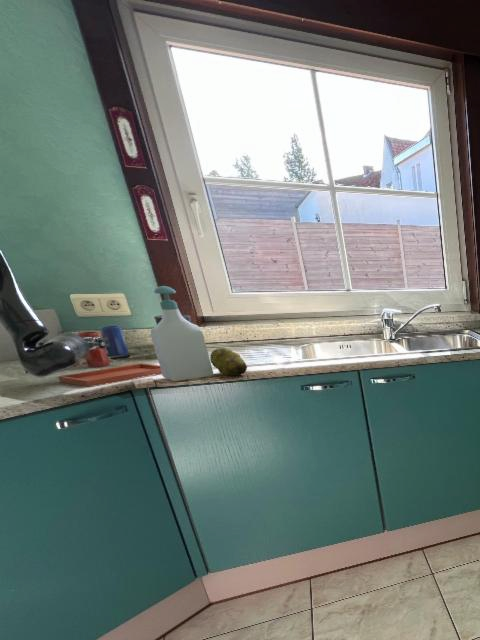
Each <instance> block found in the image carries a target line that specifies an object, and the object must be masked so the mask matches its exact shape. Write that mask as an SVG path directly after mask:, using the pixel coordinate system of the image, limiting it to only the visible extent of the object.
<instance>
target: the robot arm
mask: <svg viewBox="0 0 480 640" xmlns="http://www.w3.org/2000/svg"><path fill="white" fill-rule="evenodd" d="M0 325H1V326H2V327H3V328H4V329H5V331H6V333H8V335H9V337H10V339H11V341H12V344H13V347H14V349H15V353H16V356H17V360H18V362H19V364H20V366H21V367H22V368H23V369H24V371H25V372H27V373H28V374H30V375H32V376H34V377H38V378H44V377H48V376H51V375H53V374H56V373H59V372H62V371H64V370H67V369H70V368H73V367H75V366H77V365H78V364H79V363H80V360H82V359H84V358H85V356H86V355H87V354H88V352H89V349H95V348H96V347H97V346H99V348H102V349H104V348H105V349H107V348H106V347H108V346H110V344H109V341H108V338H107V337H101V338H100V336H98V337H95V338H92V337H85V338H81V337H79V336H77V334H74V333H61V334H58V335H56V336H54V337H52V338H49V340H48V339H45V338H46V337H47V336H49V333H50V331H49V328H48V326H47V325H46V324H45V322H44V321H43V320H42V318H41V317H40V316H39V314H38V313H37V312H36V311H35V309H34V308H33V307H32V304H30V302H29V300H28V299H27V297H26V295H25V294H24V292H23V291H22V288H21V286H20V284H19V282H18V281H17V279H16V276H15V274H14V272H13V270H12V269H11V267H10V265H9V262H8V261H7V259H6V257H5V255H4V254H3V251H2V249H0ZM87 340H88V341H87ZM94 340H95V341H96V342H95V343H94ZM37 344H38V346H37Z"/></svg>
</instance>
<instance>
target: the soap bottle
mask: <svg viewBox="0 0 480 640" xmlns="http://www.w3.org/2000/svg"><path fill="white" fill-rule="evenodd" d="M176 293H177V291H176V290H175V289H174V288H172V287H170V286H167V285H162V286H161V285H159V286H158V287H156V288H155V289H154V294H158V295H159V294H161V295H163V298H164V299H163V300H160V301H161V302H159V304H160V308H161V315H162V320H161V321H160V322H159V323H158V325H157V324H156V325H155V326H154V327H152V328H151V329H150V337H151V338H150V339H151V341H152V345H153V348H154V351H155V354H156V358H157V361H158V364H159V366H160V368H161V371H162V374H161V375H162V377H163V378H164V379H167V380H170V381H173V382H178V381H184V380H192V379H197V378H205V377H213V376H214V370H213V365H212V363H211V360H210V355H209V351H208V348H207V344H206V340H205V336H204V333H203V332H202V329H201V328H200V326H199V325H197V324H195V323H192V322H191V323H190V322H189V321H187V320H186V319H185V318H183V317H182V316H181V315H182V313H181V312H180V309H179V307H178V306H179V305H178V303H177V301H175V300H174V299H170V295H169V294H176Z"/></svg>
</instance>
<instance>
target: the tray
mask: <svg viewBox="0 0 480 640" xmlns="http://www.w3.org/2000/svg"><path fill="white" fill-rule="evenodd" d="M159 373H162V371H161V368H160V365H158V364H150V363H144V362H141V363H140V362H139V363H133V364H127V365H120V366H115V367H109V368H103V369H101V368H100V369H96V370H89V371H83V372H77V373H70V374H65V375H59V376H58V375H57V376H58V380H59V382H60V383H64V384H71V385H76V386H82V387H88V386H92V387H94V386H93V385H98V386H100V385H99V384H103V385H107V384H106V383H109V384H113V383H112V382H114V383H119V382H118V381H120V382H125V381H129V379H131V380H134V379H133V378H136V379H138V378H137V377H142V376H147V377H149V376H148V375H153V374H158V375H160V374H159ZM153 376H154V375H153ZM142 378H143V377H142ZM124 380H125V381H124Z"/></svg>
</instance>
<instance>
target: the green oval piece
mask: <svg viewBox="0 0 480 640" xmlns="http://www.w3.org/2000/svg"><path fill="white" fill-rule="evenodd" d="M209 359H210V362H211V365H212V367H213V366H214V368H216V369H217V370H218V372H219V373H220V374H222V375H224V376H231V377H234V376H241V375H243V374H245V373H246V372H247V369H248V365H247V364H246V362H245V360H244V359H243V358H242V357H241V355H240V354H239V353H237V352H235V351H233V350H232V349H230V348H226V347H219V348H216V349H214V350H212V351H211V352H210V355H209Z"/></svg>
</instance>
